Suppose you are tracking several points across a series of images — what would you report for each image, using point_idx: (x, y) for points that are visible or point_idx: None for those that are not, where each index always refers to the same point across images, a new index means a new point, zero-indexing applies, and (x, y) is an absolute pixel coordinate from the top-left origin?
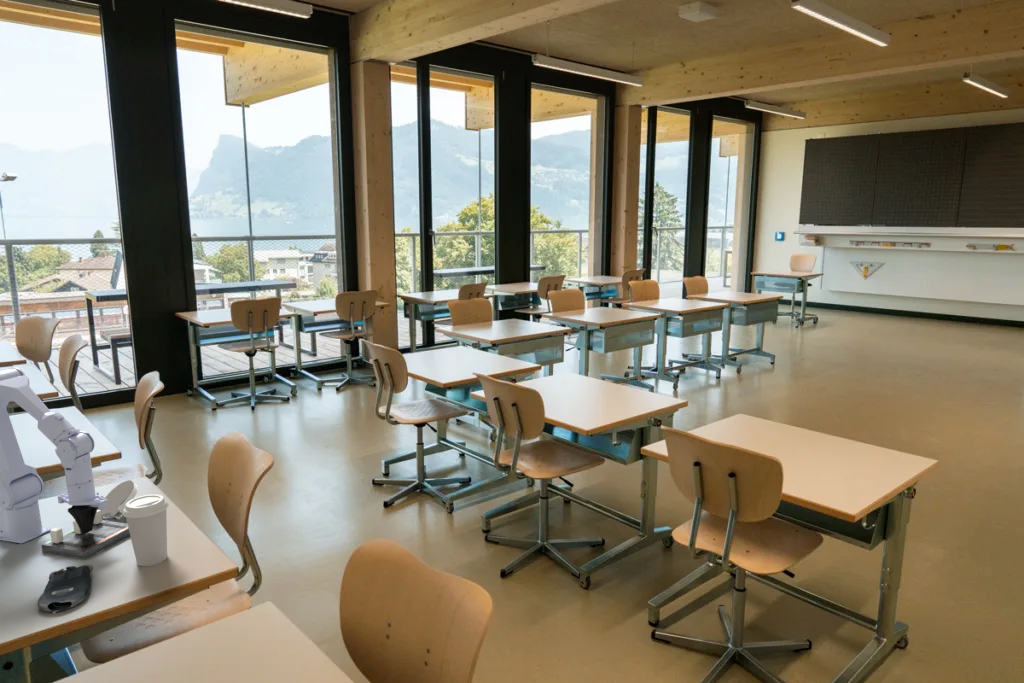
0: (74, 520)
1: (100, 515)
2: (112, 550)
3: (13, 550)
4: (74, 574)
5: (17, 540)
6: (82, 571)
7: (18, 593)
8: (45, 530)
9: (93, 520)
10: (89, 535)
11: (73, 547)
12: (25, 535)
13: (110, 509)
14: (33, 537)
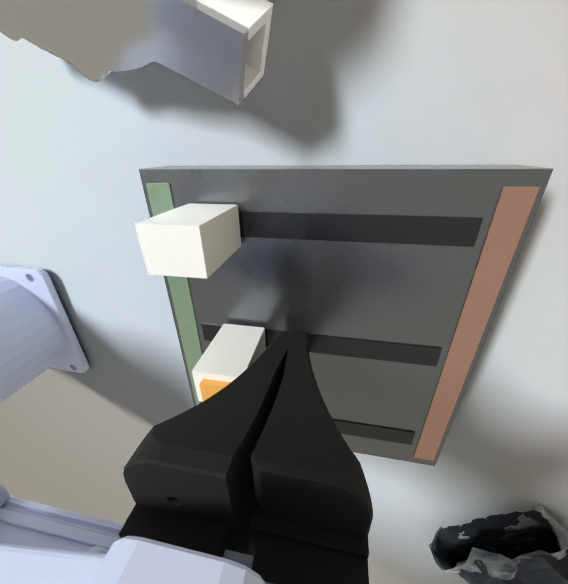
0: (198, 393)
1: (219, 225)
2: (500, 370)
3: (117, 397)
4: (540, 580)
5: (59, 365)
6: (560, 571)
7: (377, 547)
8: (41, 289)
9: (312, 373)
10: (321, 352)
11: (350, 439)
12: (53, 359)
13: (105, 11)
14: (73, 338)
